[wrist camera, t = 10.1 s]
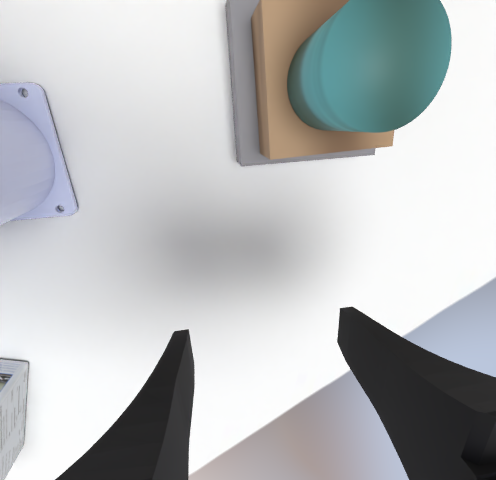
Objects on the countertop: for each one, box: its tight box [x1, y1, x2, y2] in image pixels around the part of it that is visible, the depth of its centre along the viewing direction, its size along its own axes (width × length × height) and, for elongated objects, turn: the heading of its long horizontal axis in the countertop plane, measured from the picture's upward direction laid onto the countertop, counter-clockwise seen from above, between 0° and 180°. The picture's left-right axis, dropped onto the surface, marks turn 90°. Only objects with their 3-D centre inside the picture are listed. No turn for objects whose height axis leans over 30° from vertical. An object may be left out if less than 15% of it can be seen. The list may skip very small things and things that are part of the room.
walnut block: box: [251, 0, 394, 160], centre depth 16 cm, size 7×7×3 cm
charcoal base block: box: [226, 0, 375, 166], centre depth 18 cm, size 9×9×3 cm
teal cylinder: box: [287, 0, 451, 133], centre depth 12 cm, size 4×4×5 cm
